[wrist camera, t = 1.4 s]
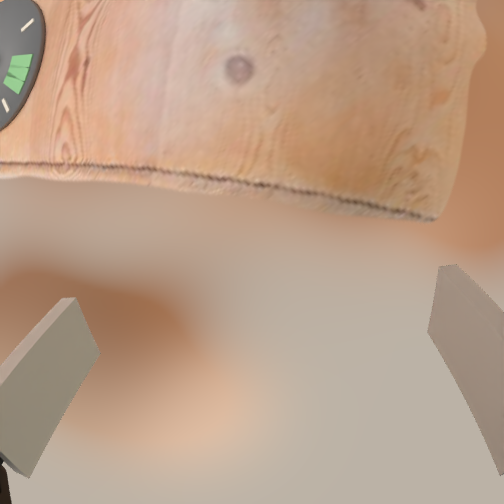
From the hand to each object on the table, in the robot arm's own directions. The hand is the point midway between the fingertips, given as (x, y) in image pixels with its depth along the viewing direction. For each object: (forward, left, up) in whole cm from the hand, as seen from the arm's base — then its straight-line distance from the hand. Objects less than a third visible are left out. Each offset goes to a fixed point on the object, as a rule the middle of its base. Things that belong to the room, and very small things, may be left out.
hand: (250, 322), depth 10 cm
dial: (-22, -39, -25) cm, 51 cm away
